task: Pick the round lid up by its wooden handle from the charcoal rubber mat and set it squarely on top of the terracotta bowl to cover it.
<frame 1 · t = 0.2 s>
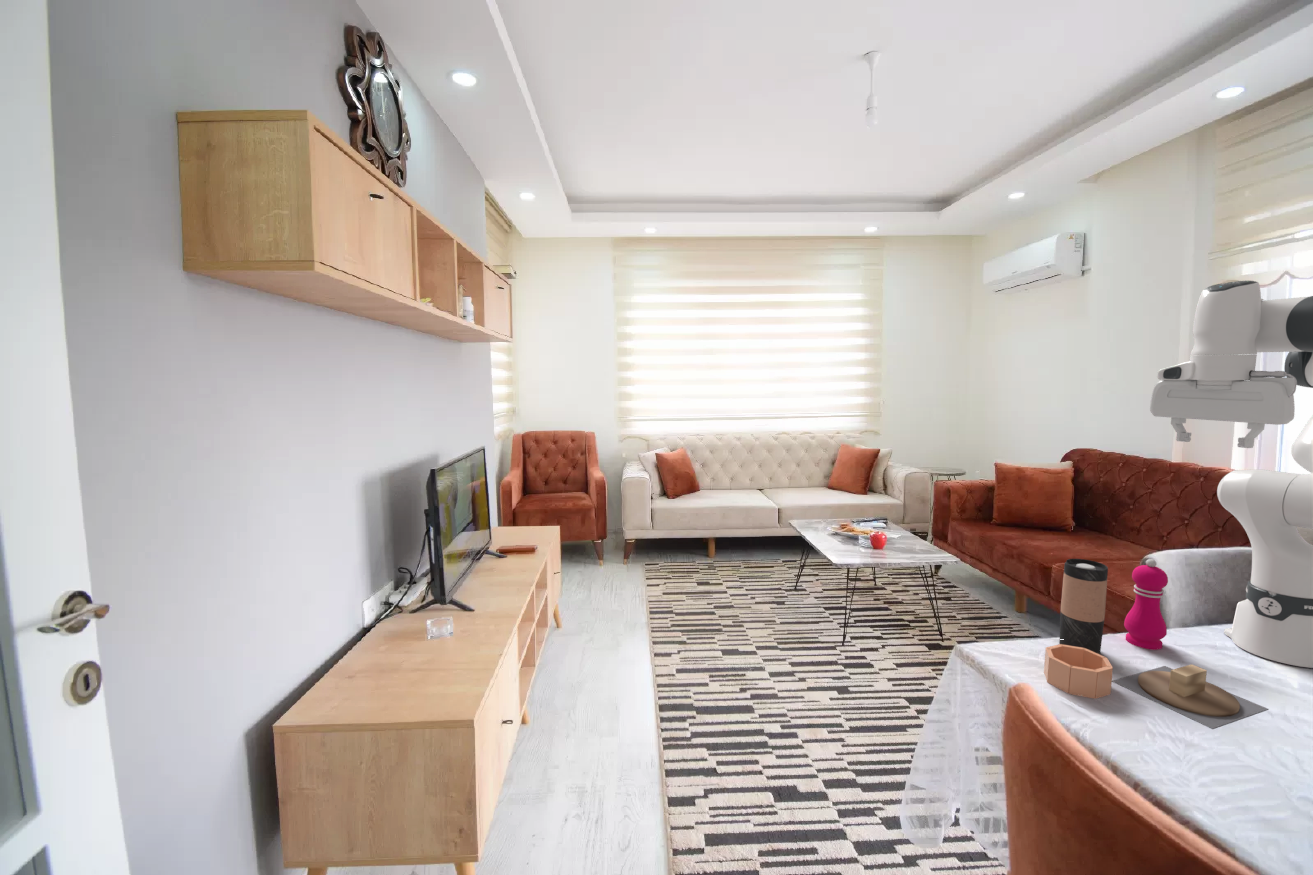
hand: (1213, 444, 108), 47 cm above the table, tool pointing down, fingers open, 8 cm apart
pepper mill: (1143, 646, 128), on the table
lid: (1186, 694, 108), point 1 cm above the table, touching mat
mat: (1185, 698, 108), on the table
bowl: (1075, 686, 112), on the table
travel mug: (1079, 653, 125), on the table
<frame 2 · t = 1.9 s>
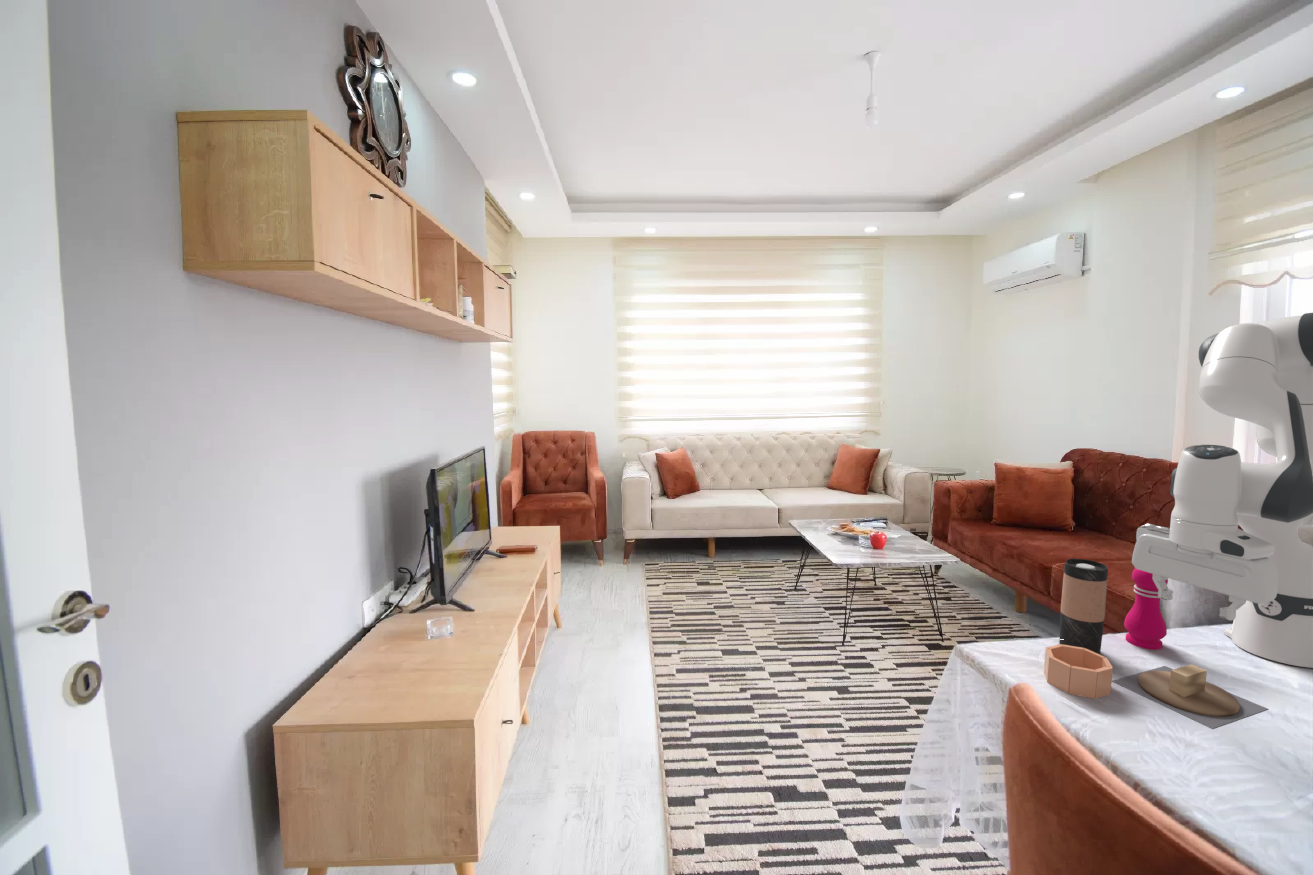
hand: (1194, 608, 106), 18 cm above the table, tool pointing down, fingers open, 8 cm apart
nothing on the table moved.
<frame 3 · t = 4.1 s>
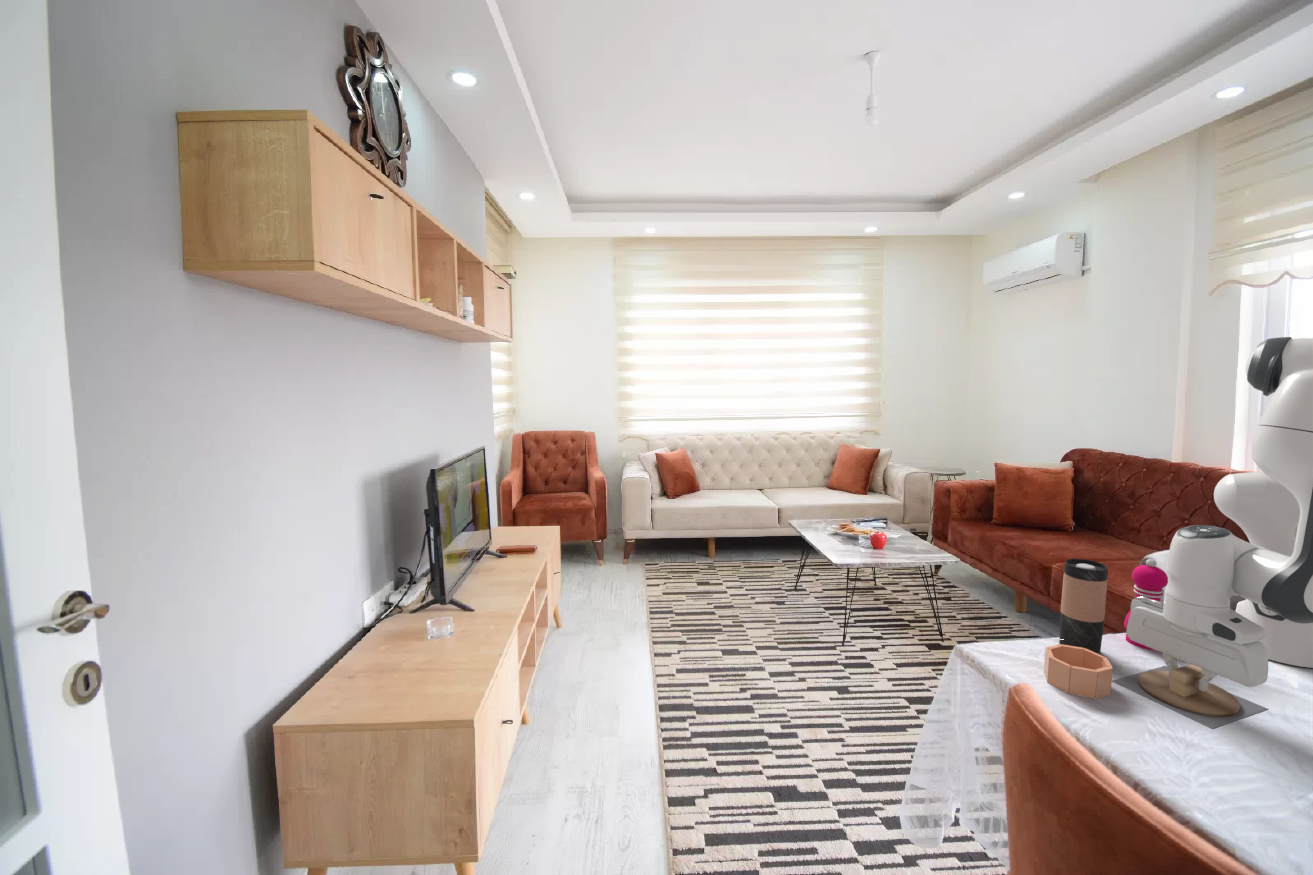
hand: (1187, 683, 108), 3 cm above the table, tool pointing down, fingers closed on lid, 2 cm apart
lid: (1186, 694, 108), point 1 cm above the table, touching gripper, mat
everything else where it was.
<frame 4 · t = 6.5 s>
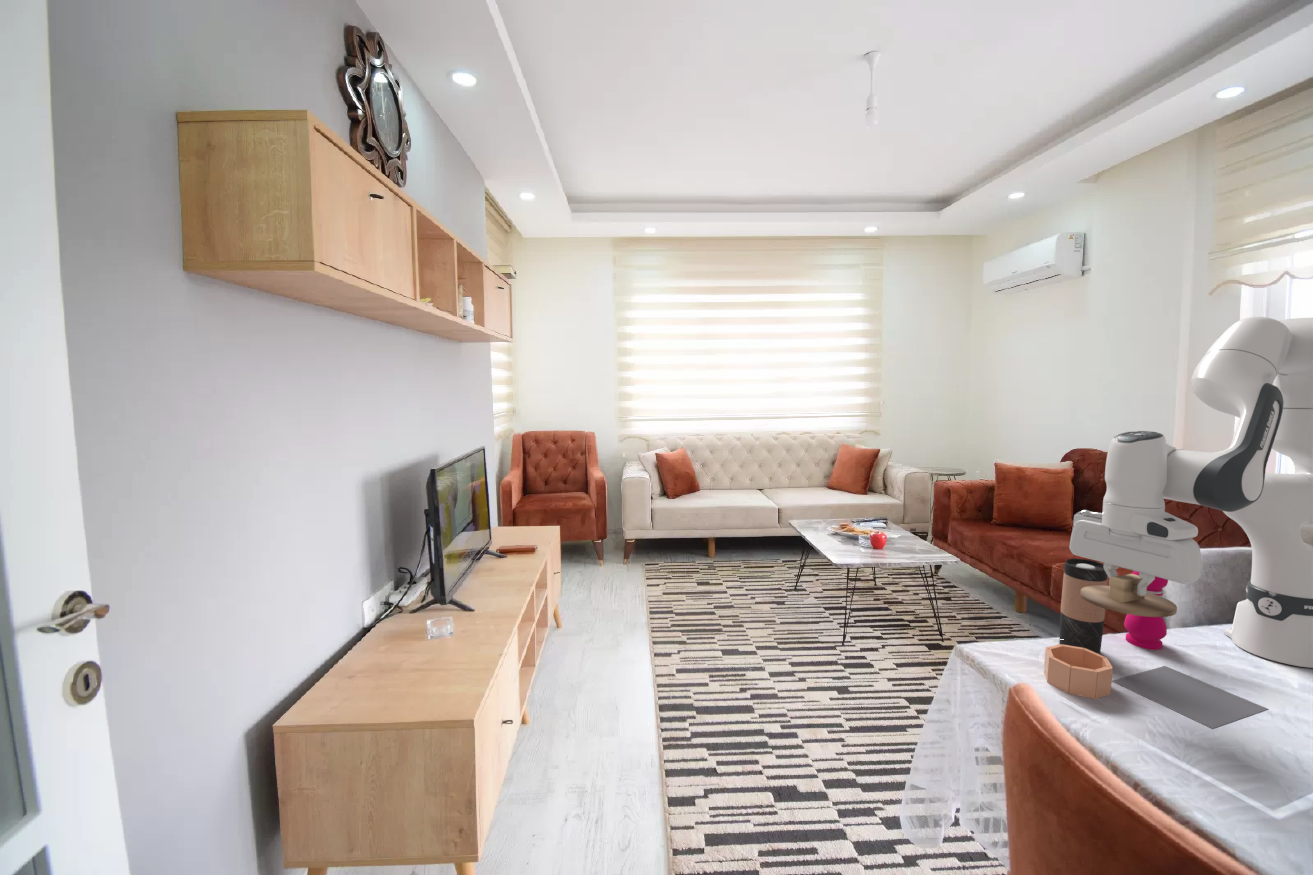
hand: (1127, 591, 108), 20 cm above the table, tool pointing down, fingers closed on lid, 2 cm apart
lid: (1126, 602, 108), point 18 cm above the table, touching gripper
everything else where it was.
when the fingers open (10 cm above the table, at t = 9.4 s): lid drops 1 cm, resting on bowl.
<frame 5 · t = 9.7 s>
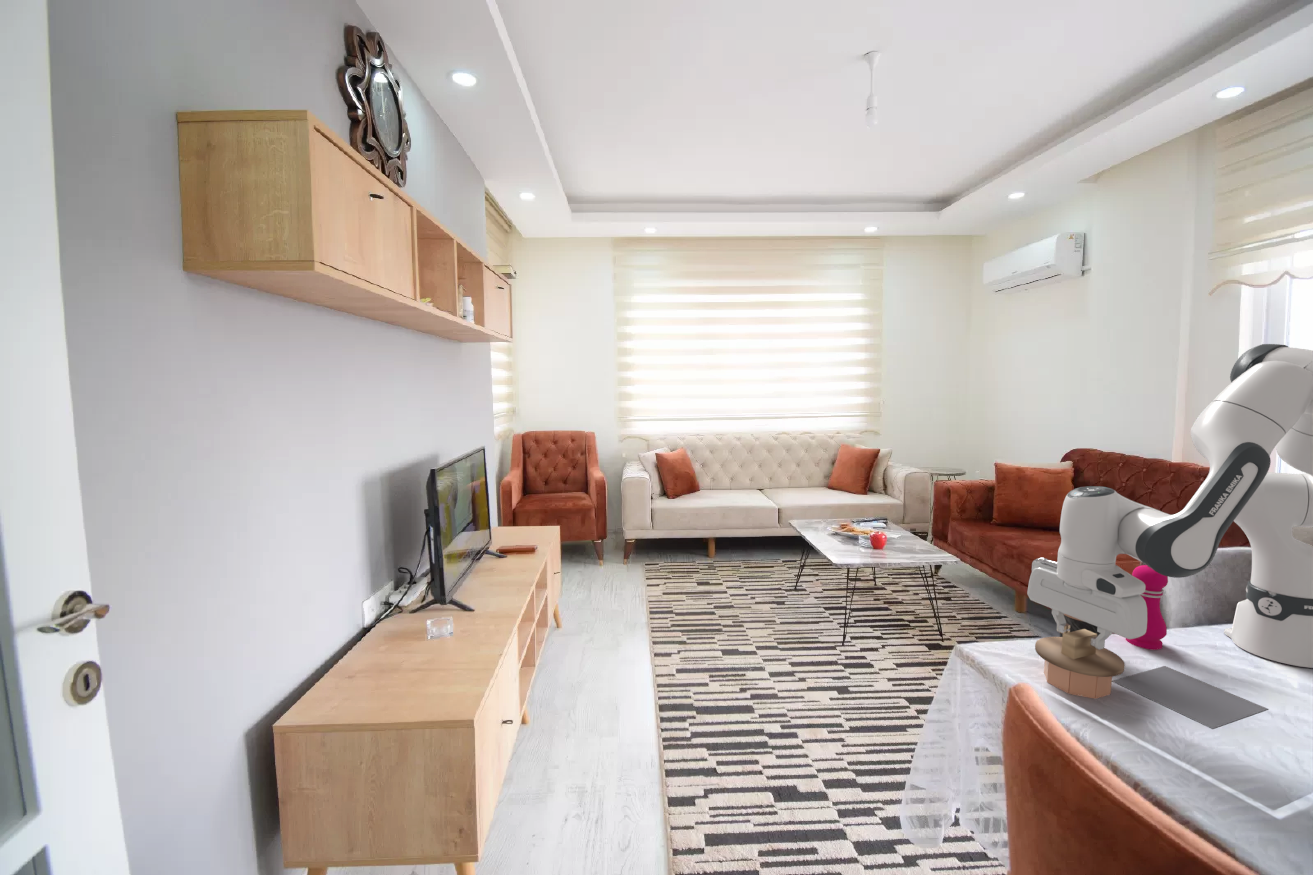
hand: (1079, 640, 111), 10 cm above the table, tool pointing down, fingers open, 5 cm apart
lid: (1078, 657, 112), point 6 cm above the table, touching bowl
everything else where it was.
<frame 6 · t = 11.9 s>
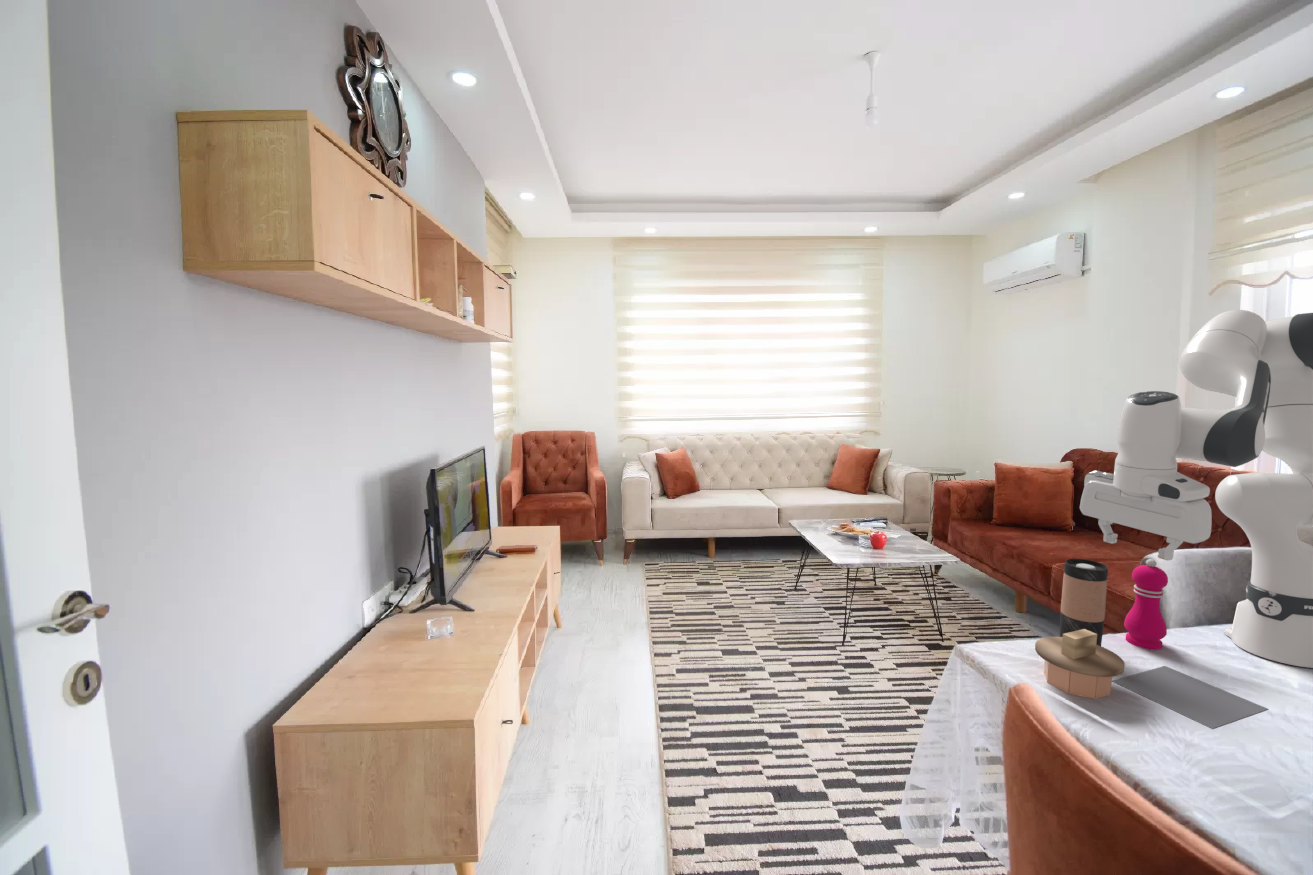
hand: (1136, 550, 109), 27 cm above the table, tool pointing down, fingers open, 8 cm apart
nothing on the table moved.
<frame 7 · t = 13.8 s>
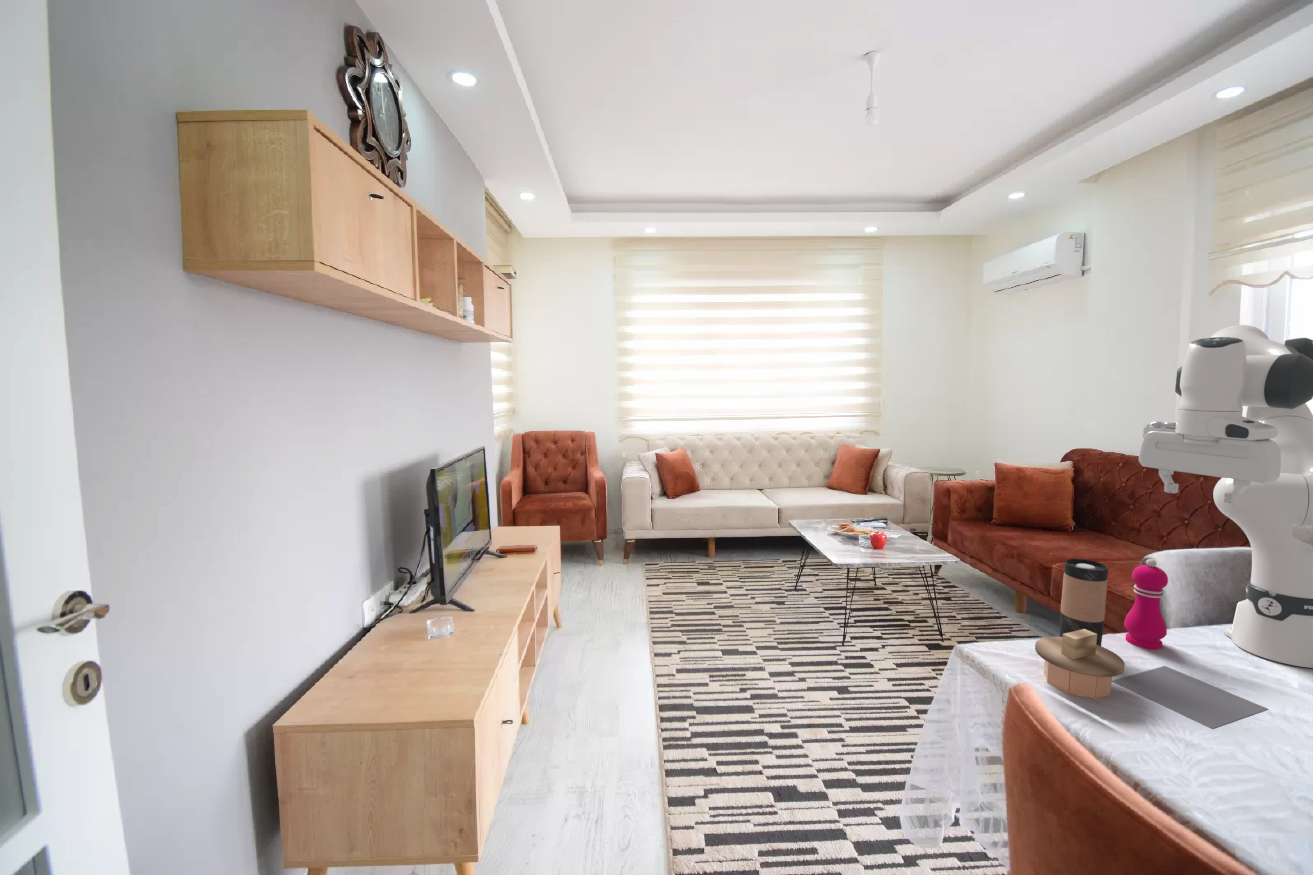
hand: (1199, 497, 109), 37 cm above the table, tool pointing down, fingers open, 8 cm apart
nothing on the table moved.
at the end: lid 0.0 cm from the bowl (horizontally); lid point 6.0 cm above the table; lid tilted 0° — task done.
